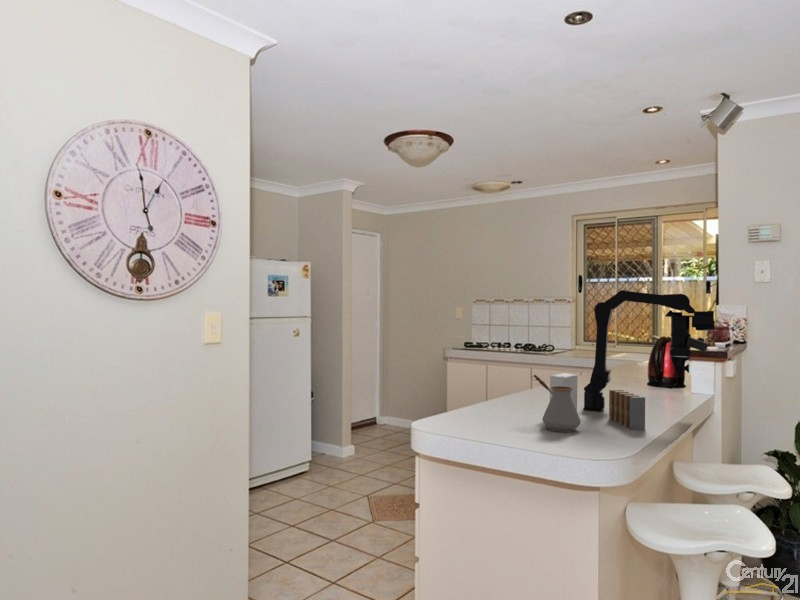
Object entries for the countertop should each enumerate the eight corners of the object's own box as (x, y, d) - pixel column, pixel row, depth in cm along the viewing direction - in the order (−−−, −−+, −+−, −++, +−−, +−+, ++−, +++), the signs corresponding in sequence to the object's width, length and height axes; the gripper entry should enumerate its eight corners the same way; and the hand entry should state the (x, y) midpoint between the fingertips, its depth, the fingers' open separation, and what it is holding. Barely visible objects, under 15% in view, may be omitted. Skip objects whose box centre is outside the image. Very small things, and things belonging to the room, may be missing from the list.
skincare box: (562, 414, 189) (563, 372, 189) (578, 417, 185) (578, 374, 185) (548, 417, 184) (548, 374, 184) (563, 421, 179) (564, 376, 179)
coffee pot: (588, 432, 164) (589, 382, 164) (556, 434, 160) (557, 384, 160) (547, 417, 184) (548, 373, 184) (518, 419, 181) (518, 375, 181)
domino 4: (624, 426, 173) (624, 394, 173) (636, 425, 173) (636, 394, 173) (626, 427, 171) (626, 395, 171) (639, 427, 172) (639, 395, 172)
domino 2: (613, 421, 180) (614, 391, 180) (626, 421, 180) (626, 391, 180) (616, 422, 178) (616, 392, 178) (628, 422, 178) (628, 392, 178)
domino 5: (629, 428, 169) (629, 396, 170) (642, 428, 170) (642, 396, 170) (632, 429, 168) (632, 397, 168) (645, 429, 168) (645, 397, 168)
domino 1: (609, 419, 183) (609, 389, 183) (621, 419, 183) (621, 389, 183) (611, 420, 181) (611, 390, 181) (623, 420, 182) (623, 390, 182)
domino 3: (618, 423, 176) (619, 393, 176) (631, 423, 177) (631, 392, 177) (621, 424, 175) (621, 393, 175) (633, 424, 175) (634, 393, 175)
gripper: (708, 331, 175) (708, 380, 175) (705, 329, 192) (705, 373, 192) (669, 330, 180) (669, 377, 180) (670, 328, 197) (670, 371, 197)
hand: (679, 375), depth 187 cm, fingers open, 9 cm apart
